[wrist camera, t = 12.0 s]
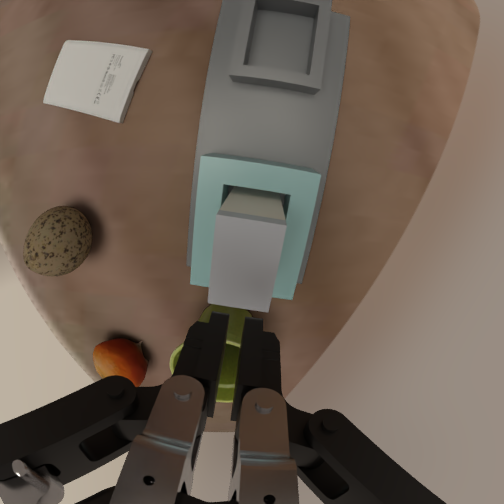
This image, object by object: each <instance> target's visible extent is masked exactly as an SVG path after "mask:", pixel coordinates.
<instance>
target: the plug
mask: <svg viewBox="0 0 504 504" xmlns="http://www.w3.org/2000/svg"><path fill="white" fill-rule="evenodd" d="M286 228H287V224H286V220H285V215H284V211H283V206H282V202H281V198H280V194H279V193H277V192H271V191H265V190H259V189H253V188H246V187H239V186H234V187H233V189H232V191H231V192H230V194H229V195H228V197H227V198H226V200H225V201H224V203H223V205H222V206H221V208H220V209H219V211H218V213H217V214H216V221H215V230H214V240H213V249H212V260H211V270H210V281H209V293H208V303H210V304H216V305H222V306H228V307H234V308H241V309H247V310H254V311H261V312H268V311H269V307H270V303H271V298H272V294H273V289H274V285H275V280H276V275H277V271H278V266H279V261H280V257H281V252H282V247H283V242H284V237H285V232H286Z"/></svg>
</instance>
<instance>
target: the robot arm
mask: <svg viewBox="0 0 504 504" xmlns="http://www.w3.org/2000/svg"><path fill="white" fill-rule="evenodd" d="M229 317H230V314H227V313H221V312H215V311H212V313H211V316H210V320H209V323H206V322H200V321H197V322H196V323H195V324H193V325H192V326H191V327H190V328H189V330H188V333H187V336H186V339H185V341H184V344H183V347H182V350H181V352H180V355H179V358H178V361H177V364H176V366H175V369H174V372H173V375H172V376H171V377H170V378H169V379H167V380H166V381H165V382H164V383H163V384H162V385H159V386H154V387H135V385H134V384H133V382H132V381H131V380H129V379H128V378H126V377H123V376H119V375H112V376H108V377H105V378H103V379H101V380H99V381H97V382H95V383H93V384H91V385H88V386H86V387H84V388H82V389H80V390H78V391H76V392H74V393H71V394H69V395H67V396H65V397H63V398H61V399H58V400H56V401H54V402H52V403H50V404H47V405H45V406H43V407H40V408H38V409H36V410H34V411H31V412H29V413H27V414H24V415H22V416H19V417H17V418H15V419H12V420H10V421H7V422H4V423H2V424H0V497H1V499H2V501H3V503H4V504H58V503H59V502H61V500H62V499H63V497H64V487H63V485H65V484H67V483H69V482H71V481H73V480H75V479H77V478H79V477H81V476H83V475H85V474H87V473H89V472H91V471H93V470H95V469H97V468H99V467H101V466H102V465H105V464H106V463H108V462H110V461H112V460H114V459H115V458H117V457H119V456H121V455H122V454H124V453H126V452H128V451H129V452H128V455H127V457H126V460H125V463H124V465H123V468H122V471H121V473H120V476H119V478H118V482H117V484H116V486H113V487H110V488H107V489H104V490H102V491H100V492H98V493H96V494H94V495H92V496H90V497H88V498H86V499H84V500H82V501H80V502H77V503H75V504H299V494H298V478H297V475H298V476H299V477H300V478H301V480H302V481H303V482H304V483H305V484H306V485H307V486H308V487H309V488H310V489H311V490H312V491H313V492H314V494H315V495H316V496H317V497H318V498H319V499H320V500H321V501H322V502H323V503H324V504H446V503H445V502H444V501H442V500H441V499H440V498H438V497H437V496H436V495H435V494H433V493H432V492H431V491H430V490H428V489H427V488H426V487H425V486H423V485H422V484H421V483H419V482H418V481H417V480H416V479H415V478H413V477H412V476H411V475H410V474H409V473H408V472H406V471H405V470H404V469H403V468H402V467H401V466H399V465H398V464H397V463H396V462H395V461H394V460H392V459H391V458H390V457H389V456H388V455H387V454H385V453H384V452H383V451H382V450H381V449H380V448H379V447H377V445H375V444H374V443H373V442H372V441H371V440H370V439H369V438H368V437H367V436H365V435H364V434H363V433H362V432H361V431H360V430H359V429H358V428H357V427H356V426H355V425H353V423H351V422H350V421H349V420H348V419H347V418H346V417H345V416H344V415H343V414H341V413H340V412H338V411H336V410H332V409H322V410H319V411H317V412H315V413H314V414H310V413H307V412H304V411H300V410H298V409H296V408H294V407H292V406H291V405H289V404H288V403H287V402H286V400H285V399H284V397H283V395H282V391H281V365H280V342H279V340H278V339H277V337H276V335H275V334H274V333H271V332H264V331H263V319H260V318H253V317H246V316H245V321H244V326H243V332H242V338H241V344H240V350H239V357H238V365H237V373H236V381H235V389H234V397H233V405H232V413H231V420H232V421H236V429H235V435H234V440H233V453H232V467H231V479H230V486H229V493H228V501H224V502H205V501H202V500H200V499H197V498H195V497H192V496H190V494H191V489H192V483H193V475H194V470H195V465H196V461H197V457H198V452H199V448H200V444H201V439H202V435H203V431H204V429H205V424H206V419H207V417H212V418H213V414H214V408H215V403H216V397H217V392H218V386H219V381H220V375H221V370H222V364H223V359H224V353H225V347H226V340H227V332H228V324H229Z"/></svg>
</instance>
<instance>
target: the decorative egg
mask: <svg viewBox="0 0 504 504" xmlns="http://www.w3.org/2000/svg"><path fill="white" fill-rule="evenodd" d="M91 244H92V231H91V227H90V224H89V222H88V220H87V218H86V217H85V216H84V215H83V214H82V213H81V212H80V211H78V210H77V209H75V208H72V207H68V206H58V207H54V208H52V209H49V210H47V211H46V212H44V213H43V214H42V215H40V216H39V217H38V218H37V219H36V221H35V222H34V223H33V225H32V226H31V228H30V230H29V232H28V234H27V237H26V240H25V244H24V251H23V257H24V262H25V264H26V266H27V267H28V268H29V269H30V270H32V271H33V272H35V273H38V274H41V275H45V276H61V275H65V274H68V273H70V272H72V271H73V270H75V269H76V268H78V267H79V266H80V265H81V264H82V263H83V262H84V260H85V259H86V257H87V256H88V253H89V251H90V248H91Z"/></svg>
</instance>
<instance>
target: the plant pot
mask: <svg viewBox="0 0 504 504" xmlns="http://www.w3.org/2000/svg"><path fill="white" fill-rule="evenodd" d="M212 311H215V312H221V313H227V314H230V317H229V324H228V332H227V340H226V347H225V353H224V359H223V364H222V370H221V375H220V381H219V386H218V392H217V397H216V402H233V397H234V389H235V381H236V373H237V365H238V357H239V350H240V344H241V338H242V332H243V326H244V321H245V316H246V317H252V315H251V314H250V313H249V312H248V311H247V310H246V309H241V308H234V307H228V306H222V305H216V304H211V305H210V306H209V307H207V308H206V309H205V310H204V312H203V313H202V315H201V317H200V319H199V321H200V322H206V323H209V320H210V316H211V313H212ZM183 344H184V343H182V344H181V345H179V346H178V347H177V348H176V349H175V350H174V352H173V353H172V355H171V358H170V370H171V373H172V375H173V372H174V369H175V366H176V364H177V361H178V358H179V355H180V352H181V350H182V347H183Z"/></svg>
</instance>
